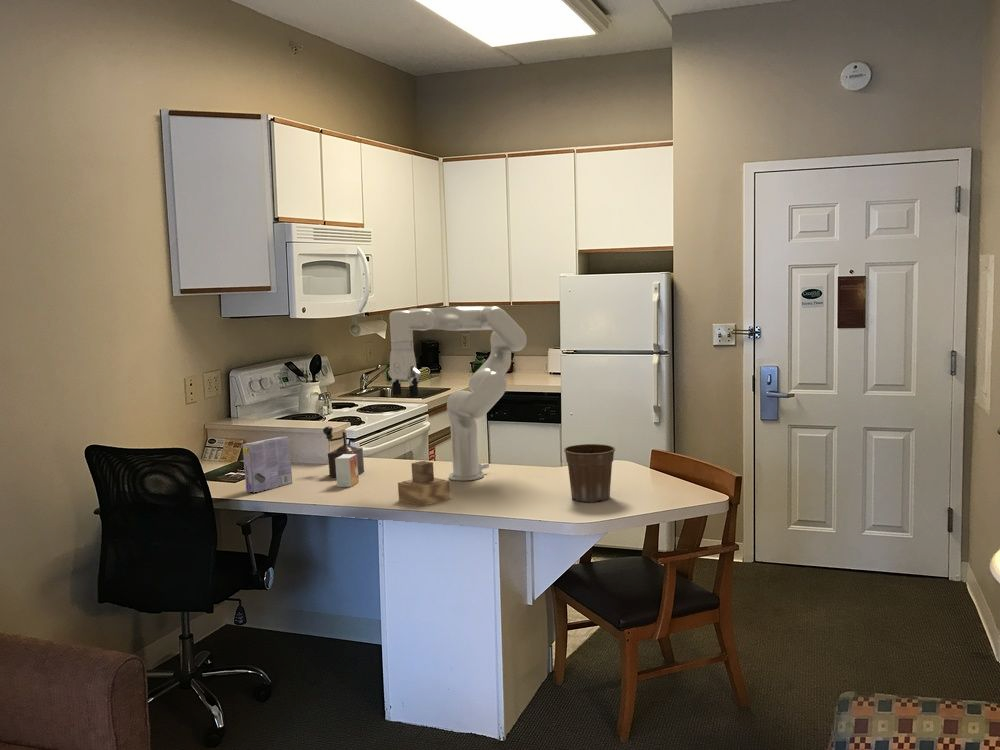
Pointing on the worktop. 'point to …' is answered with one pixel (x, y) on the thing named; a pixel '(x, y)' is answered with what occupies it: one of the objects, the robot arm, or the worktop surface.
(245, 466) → the cake pan box
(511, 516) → the worktop surface
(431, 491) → the oak base
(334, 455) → the manual coffee grinder
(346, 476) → the small box
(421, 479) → the walnut block
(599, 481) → the plant pot
